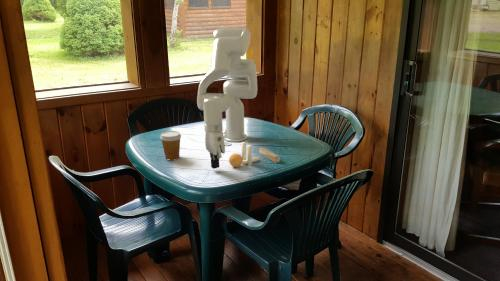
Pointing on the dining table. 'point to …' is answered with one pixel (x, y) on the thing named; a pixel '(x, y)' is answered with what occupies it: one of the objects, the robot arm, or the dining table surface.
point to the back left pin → (244, 150)
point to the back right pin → (249, 154)
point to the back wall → (269, 154)
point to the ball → (235, 160)
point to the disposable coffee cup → (171, 144)
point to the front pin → (252, 160)
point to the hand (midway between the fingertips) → (215, 167)
